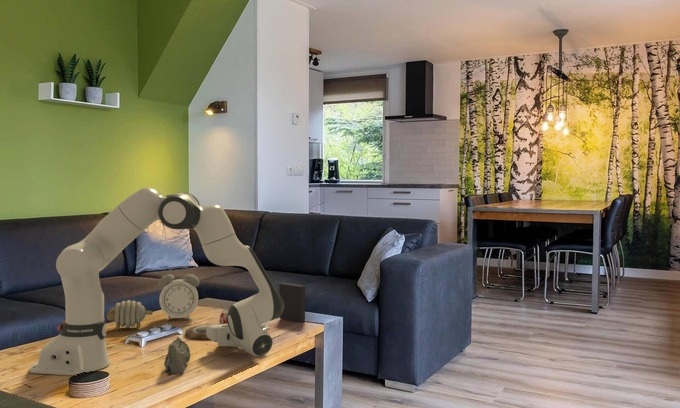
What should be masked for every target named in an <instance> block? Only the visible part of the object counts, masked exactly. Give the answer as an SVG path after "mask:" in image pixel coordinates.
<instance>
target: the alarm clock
mask: <svg viewBox="0 0 680 408" xmlns="http://www.w3.org/2000/svg"><path fill="white" fill-rule="evenodd" d="M176 268H177V269H178V268H182V269H187V270H188V271H189V272H190V273H187V274H185V275H184V276H183V278H180V277H181V276H182V274H176V277H178V278H177V279H175V275H173V274H171V273H169V272H170V271H171V270H172V269H176ZM157 284H158V286H159V288H162V287H163V288H162V290H161V292H160V293H159V301H158V302H159V306H160V308H161V310H162V312H163V313H164V314H165V315H167V319H166V322H168V321H169V320H170V319H171V318H172V319H182V318H186V317H187V318H188V319H189V321H191V320H192V319H191V316H190V315H192V313H193V312H194V311H195V309H197V306H198V301H199V292H198V290H197V287H199V285H200V279H199V278H198V277H197V273H193V272H192V271H191V269H190V268H189V267H186V266H172V267H170V268H169V269H168V270H167V272H166V273H164V274H161V278H159V280H158V283H157Z"/></svg>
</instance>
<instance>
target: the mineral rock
mask: <svg viewBox="0 0 680 408" xmlns="http://www.w3.org/2000/svg"><path fill="white" fill-rule="evenodd" d="M190 360H191V351H190V347H189V345H188V344H187V343H186V341H184V340H182V339H181V337H180V336H177V337H176V339H174V340H173V341H172V342H171V343H169V345H168V349H167V354H166V356H165V359H164V363H163V366H164V368H165V373H166V374H173V375H177V374H181V373H184V372H185V371H186V365H187V364H188V363H189V362H190Z"/></svg>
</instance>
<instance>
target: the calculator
mask: <svg viewBox="0 0 680 408" xmlns="http://www.w3.org/2000/svg"><path fill="white" fill-rule="evenodd" d="M278 287H279V292H278V293H279V294H280V296H281V298H282V300H283V302H284V309H283V312H282V314H281V316H280V317H279V318H280V319H281V320H285V321H291V322H295V323H303V322H305V321H306V285H305V284H304V285H303V284H297V283H291V282H290V283H289V282H282V283H279V286H278Z"/></svg>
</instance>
